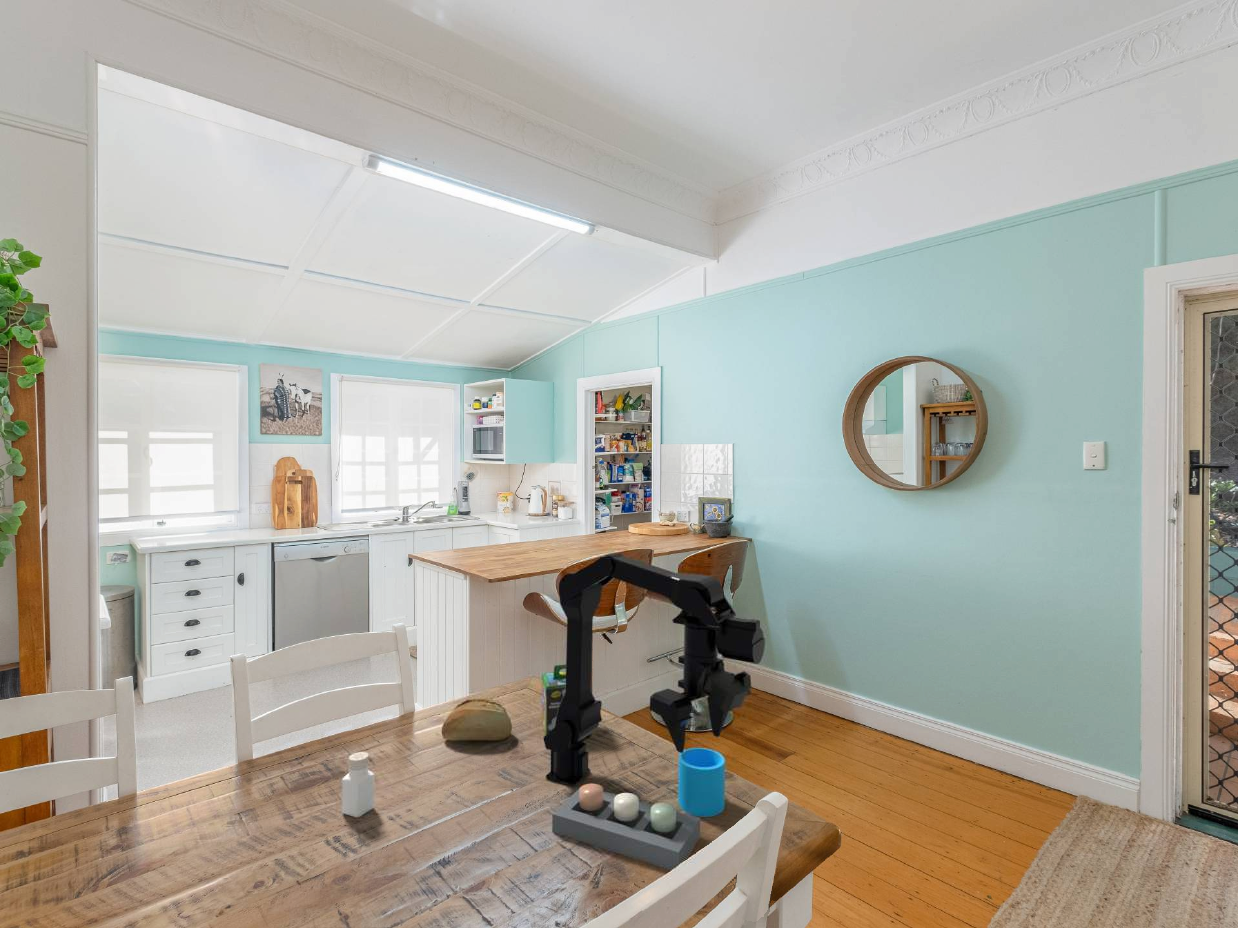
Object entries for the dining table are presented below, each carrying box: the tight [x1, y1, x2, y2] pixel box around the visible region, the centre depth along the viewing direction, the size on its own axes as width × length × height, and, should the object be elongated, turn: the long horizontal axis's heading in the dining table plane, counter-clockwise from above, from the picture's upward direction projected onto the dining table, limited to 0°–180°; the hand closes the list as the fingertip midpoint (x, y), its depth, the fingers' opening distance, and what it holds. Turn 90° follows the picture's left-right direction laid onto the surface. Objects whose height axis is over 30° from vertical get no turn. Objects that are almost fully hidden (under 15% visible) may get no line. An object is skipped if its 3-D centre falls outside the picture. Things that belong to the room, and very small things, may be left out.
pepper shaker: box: [341, 751, 376, 818], centre depth 108 cm, size 4×4×10 cm
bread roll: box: [441, 698, 513, 741], centre depth 137 cm, size 10×15×8 cm, turn 100°
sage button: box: [651, 802, 677, 832], centre depth 99 cm, size 4×4×2 cm
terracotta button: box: [578, 783, 604, 811], centre depth 105 cm, size 4×4×2 cm
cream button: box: [614, 792, 640, 821], centre depth 102 cm, size 4×4×2 cm
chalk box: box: [541, 664, 566, 736], centre depth 142 cm, size 9×9×15 cm
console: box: [551, 785, 701, 871], centre depth 102 cm, size 22×10×3 cm, turn 64°
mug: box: [677, 747, 726, 818], centre depth 114 cm, size 12×8×8 cm
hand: (698, 743), depth 106 cm, fingers open, 9 cm apart
